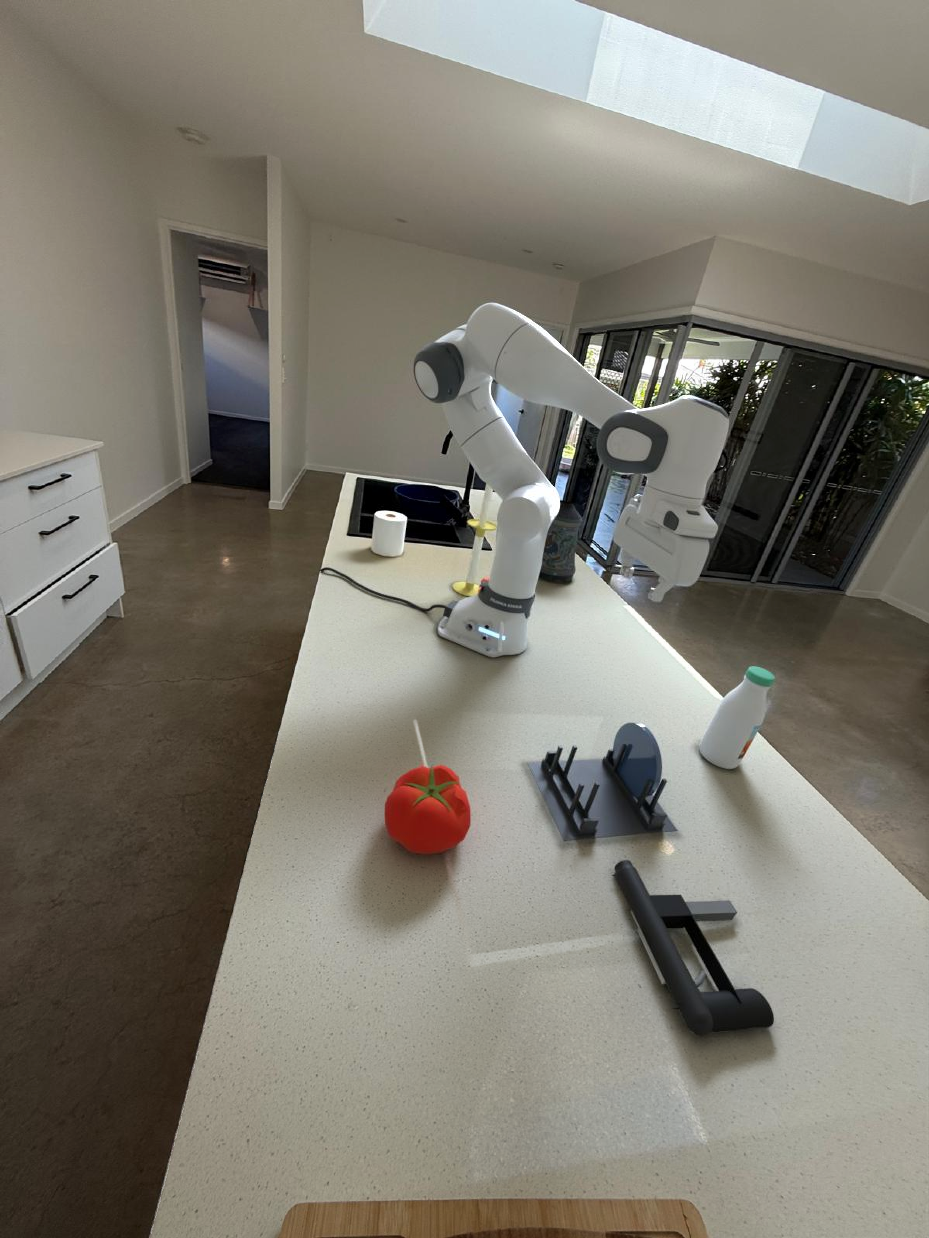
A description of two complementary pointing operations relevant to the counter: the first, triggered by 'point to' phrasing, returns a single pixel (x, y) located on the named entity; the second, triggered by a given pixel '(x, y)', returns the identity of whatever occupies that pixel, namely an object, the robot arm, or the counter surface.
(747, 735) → the milk bottle
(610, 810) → the rack
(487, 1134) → the counter surface
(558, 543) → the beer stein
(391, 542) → the toilet paper
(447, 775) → the tomato
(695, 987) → the door handle
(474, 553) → the candle
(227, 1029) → the counter surface
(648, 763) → the plate
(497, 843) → the counter surface
